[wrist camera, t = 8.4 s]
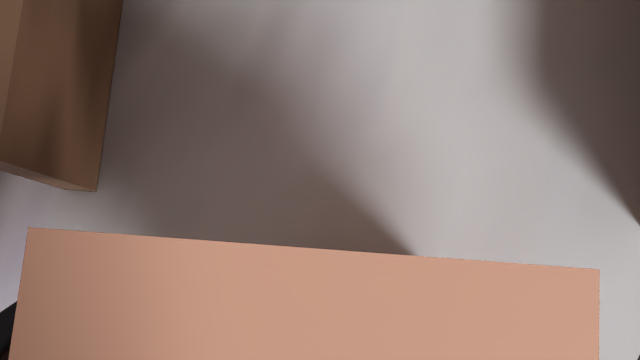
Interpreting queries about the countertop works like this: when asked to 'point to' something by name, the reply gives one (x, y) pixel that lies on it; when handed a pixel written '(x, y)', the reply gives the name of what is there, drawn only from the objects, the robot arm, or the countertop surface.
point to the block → (290, 303)
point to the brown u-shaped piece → (56, 88)
